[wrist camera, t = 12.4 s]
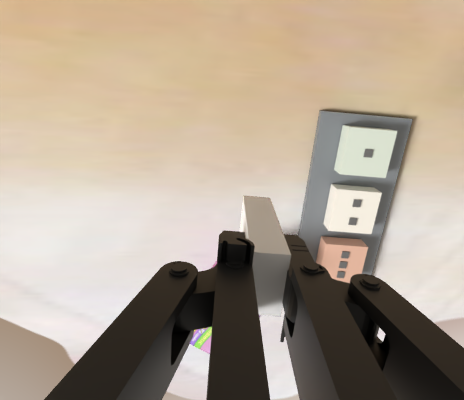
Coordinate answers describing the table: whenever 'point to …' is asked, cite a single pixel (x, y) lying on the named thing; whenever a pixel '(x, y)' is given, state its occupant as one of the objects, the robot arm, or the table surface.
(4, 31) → the table surface
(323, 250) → the tile three
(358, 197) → the tile two
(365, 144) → the tile one
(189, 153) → the table surface
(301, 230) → the keypad board
